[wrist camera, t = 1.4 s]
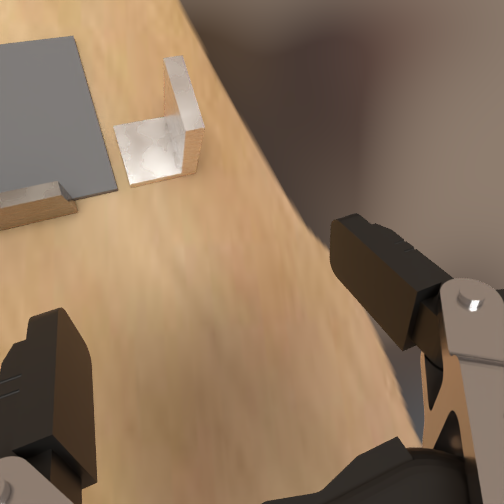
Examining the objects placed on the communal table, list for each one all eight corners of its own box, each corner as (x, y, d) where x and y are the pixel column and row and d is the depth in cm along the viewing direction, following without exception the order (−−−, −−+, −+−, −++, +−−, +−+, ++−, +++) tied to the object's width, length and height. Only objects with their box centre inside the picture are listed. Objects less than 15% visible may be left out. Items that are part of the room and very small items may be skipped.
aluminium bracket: (131, 187, 36) (117, 144, 26) (114, 130, 37) (95, 67, 27) (195, 173, 38) (205, 127, 28) (178, 118, 38) (182, 55, 29)
